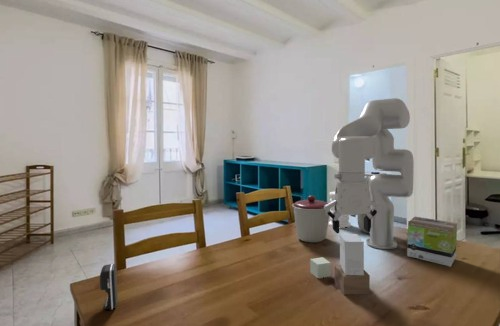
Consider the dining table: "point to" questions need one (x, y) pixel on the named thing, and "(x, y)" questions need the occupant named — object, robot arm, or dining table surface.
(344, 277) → the walnut block
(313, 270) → the sage block
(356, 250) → the small box
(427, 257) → the tea box
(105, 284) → the battery charger
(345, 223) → the decorative container
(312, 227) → the canister
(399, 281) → the dining table surface
